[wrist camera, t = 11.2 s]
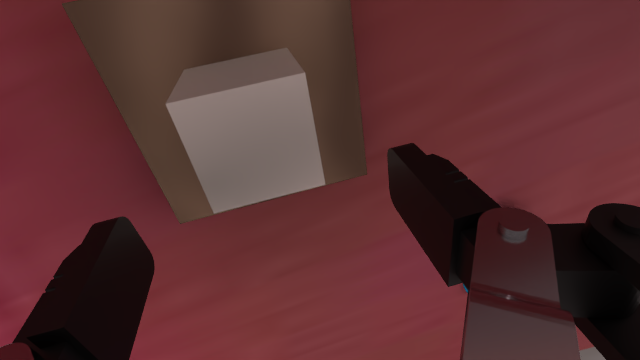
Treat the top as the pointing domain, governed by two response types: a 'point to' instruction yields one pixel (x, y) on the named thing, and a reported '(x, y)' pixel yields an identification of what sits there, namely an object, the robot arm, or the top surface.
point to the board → (216, 46)
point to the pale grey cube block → (248, 128)
